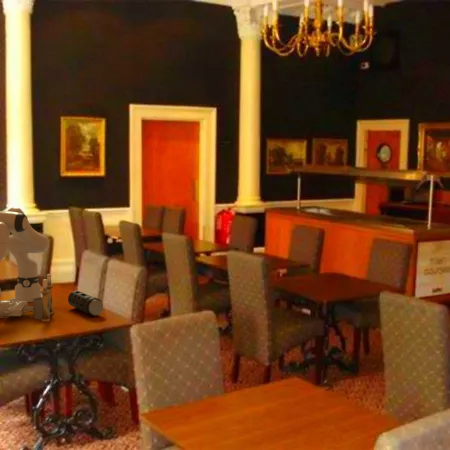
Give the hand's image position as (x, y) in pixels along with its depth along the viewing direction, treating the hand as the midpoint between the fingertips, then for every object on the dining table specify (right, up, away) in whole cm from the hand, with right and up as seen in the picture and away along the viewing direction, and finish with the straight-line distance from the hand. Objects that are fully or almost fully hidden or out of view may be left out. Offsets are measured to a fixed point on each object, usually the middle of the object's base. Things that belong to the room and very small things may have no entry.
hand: (33, 308), depth 368 cm
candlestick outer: (+8, -6, -6) cm, 12 cm away
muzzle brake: (+25, -4, +13) cm, 28 cm away
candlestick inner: (+6, -4, +9) cm, 12 cm away
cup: (+4, -5, +1) cm, 7 cm away
